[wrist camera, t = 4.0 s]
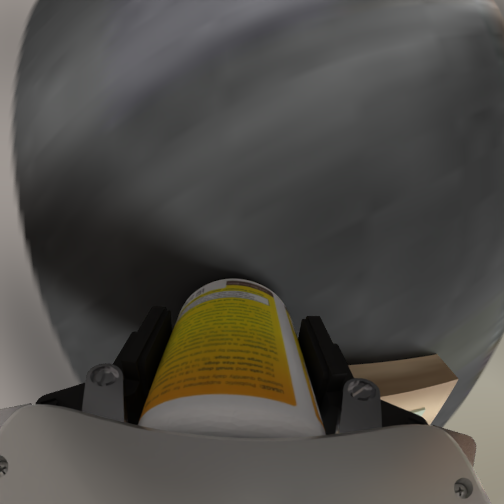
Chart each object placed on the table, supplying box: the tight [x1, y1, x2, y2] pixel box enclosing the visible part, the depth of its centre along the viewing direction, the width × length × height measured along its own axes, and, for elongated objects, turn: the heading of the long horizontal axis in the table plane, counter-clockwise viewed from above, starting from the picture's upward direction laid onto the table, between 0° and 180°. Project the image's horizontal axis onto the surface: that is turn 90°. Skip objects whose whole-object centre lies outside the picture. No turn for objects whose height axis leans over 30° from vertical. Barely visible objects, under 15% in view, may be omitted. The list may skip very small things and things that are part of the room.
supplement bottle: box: [138, 279, 326, 438], centre depth 9 cm, size 6×6×10 cm
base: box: [348, 354, 458, 425], centre depth 15 cm, size 12×12×3 cm
